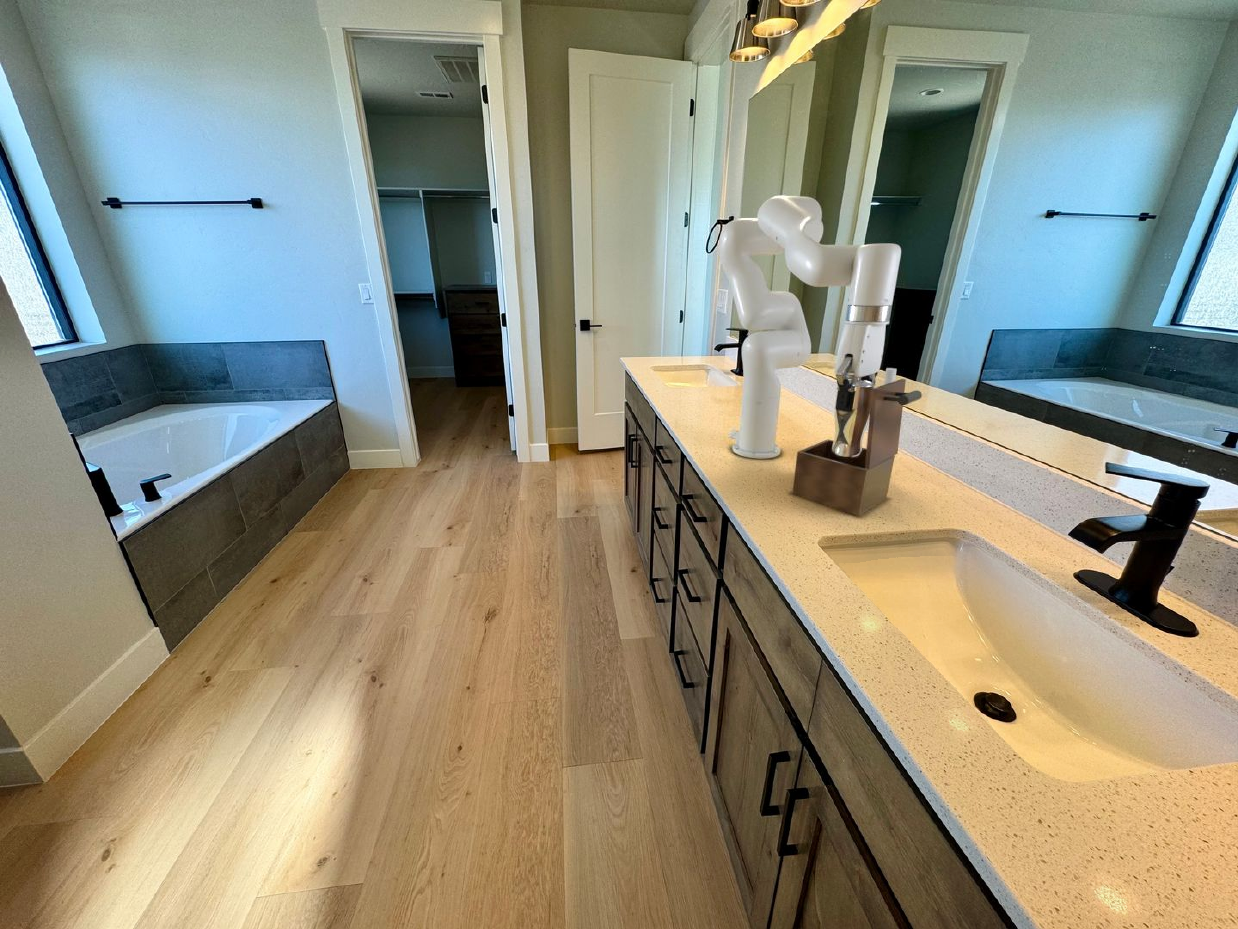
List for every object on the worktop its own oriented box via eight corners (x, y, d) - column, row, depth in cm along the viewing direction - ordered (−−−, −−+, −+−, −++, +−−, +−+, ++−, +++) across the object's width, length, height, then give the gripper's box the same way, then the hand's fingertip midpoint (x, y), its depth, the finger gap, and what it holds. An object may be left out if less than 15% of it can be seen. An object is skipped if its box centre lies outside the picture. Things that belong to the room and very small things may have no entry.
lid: (872, 388, 89) (902, 390, 85) (901, 378, 96) (930, 380, 93) (864, 468, 94) (893, 473, 90) (893, 453, 101) (920, 457, 97)
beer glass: (842, 461, 98) (854, 387, 93) (820, 450, 105) (830, 380, 99) (871, 458, 100) (885, 385, 95) (848, 447, 106) (859, 378, 101)
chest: (792, 493, 107) (797, 451, 104) (822, 478, 115) (827, 439, 111) (858, 516, 97) (866, 470, 93) (886, 498, 104) (895, 455, 101)
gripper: (869, 311, 100) (855, 397, 107) (825, 317, 90) (812, 411, 96) (908, 313, 95) (891, 403, 101) (866, 319, 85) (850, 419, 91)
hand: (853, 406), depth 99 cm, fingers closed on beer glass, 7 cm apart
